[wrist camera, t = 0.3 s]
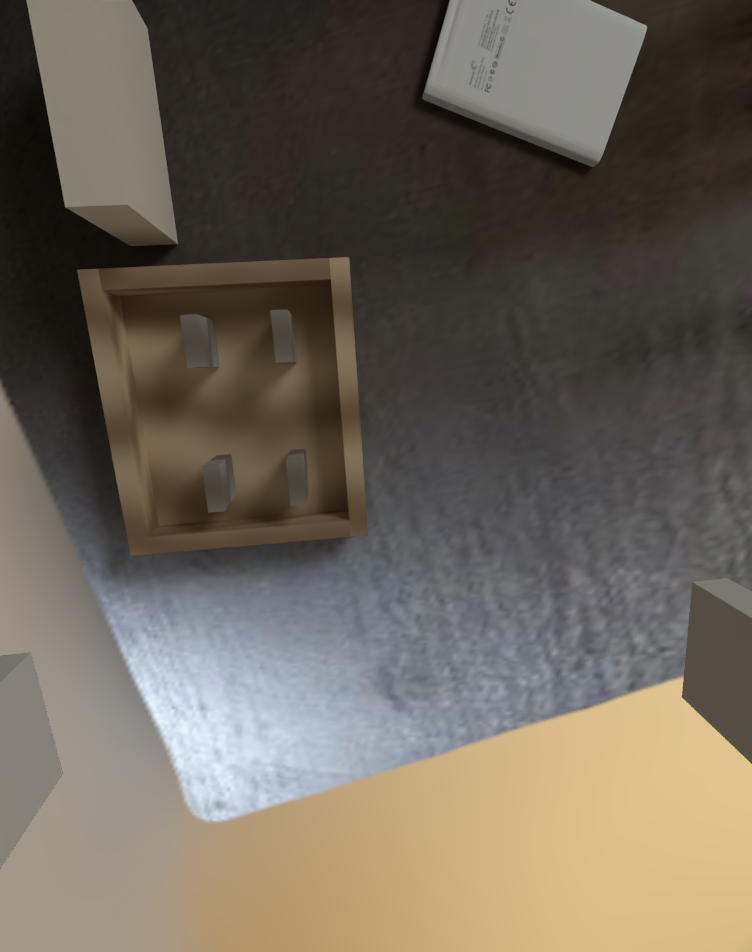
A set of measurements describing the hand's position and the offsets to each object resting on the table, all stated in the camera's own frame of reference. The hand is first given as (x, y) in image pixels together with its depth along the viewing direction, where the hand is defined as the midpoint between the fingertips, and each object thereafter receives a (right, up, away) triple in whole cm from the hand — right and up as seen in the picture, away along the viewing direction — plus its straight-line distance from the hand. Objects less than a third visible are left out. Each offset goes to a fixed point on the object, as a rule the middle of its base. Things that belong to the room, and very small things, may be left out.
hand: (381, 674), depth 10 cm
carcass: (-10, +9, +25) cm, 28 cm away
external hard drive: (+10, +31, +22) cm, 39 cm away
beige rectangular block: (-15, +25, +21) cm, 36 cm away
